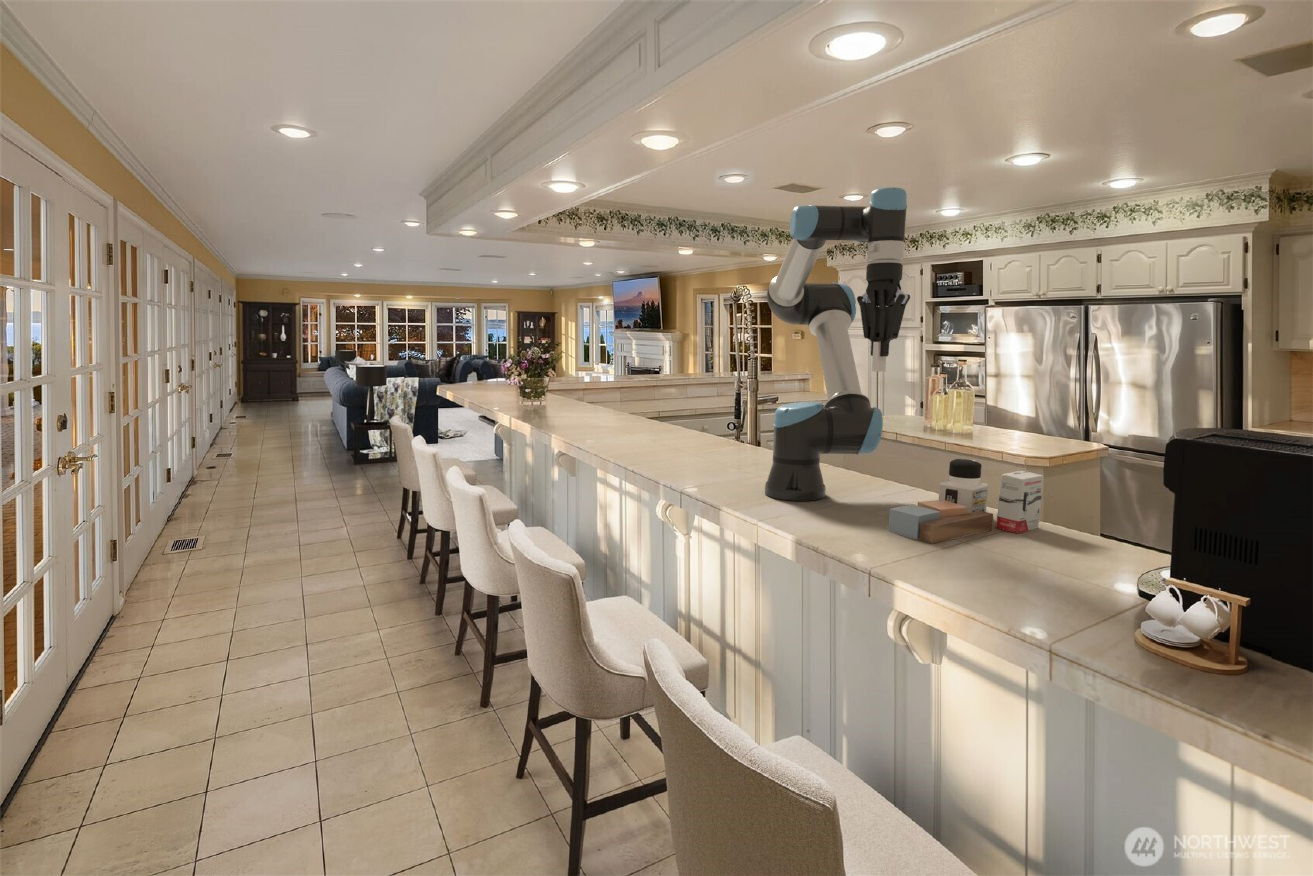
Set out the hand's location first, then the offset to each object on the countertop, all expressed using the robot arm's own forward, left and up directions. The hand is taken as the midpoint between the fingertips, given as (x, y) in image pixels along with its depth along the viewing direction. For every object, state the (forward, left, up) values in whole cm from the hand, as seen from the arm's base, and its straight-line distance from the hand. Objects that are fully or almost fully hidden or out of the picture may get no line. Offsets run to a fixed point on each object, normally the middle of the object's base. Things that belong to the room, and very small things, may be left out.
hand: (878, 371), depth 157 cm
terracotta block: (+16, +4, -33) cm, 36 cm away
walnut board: (+21, +1, -32) cm, 39 cm away
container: (+13, +15, -33) cm, 38 cm away
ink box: (+25, +17, -33) cm, 44 cm away
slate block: (+16, -5, -33) cm, 37 cm away
